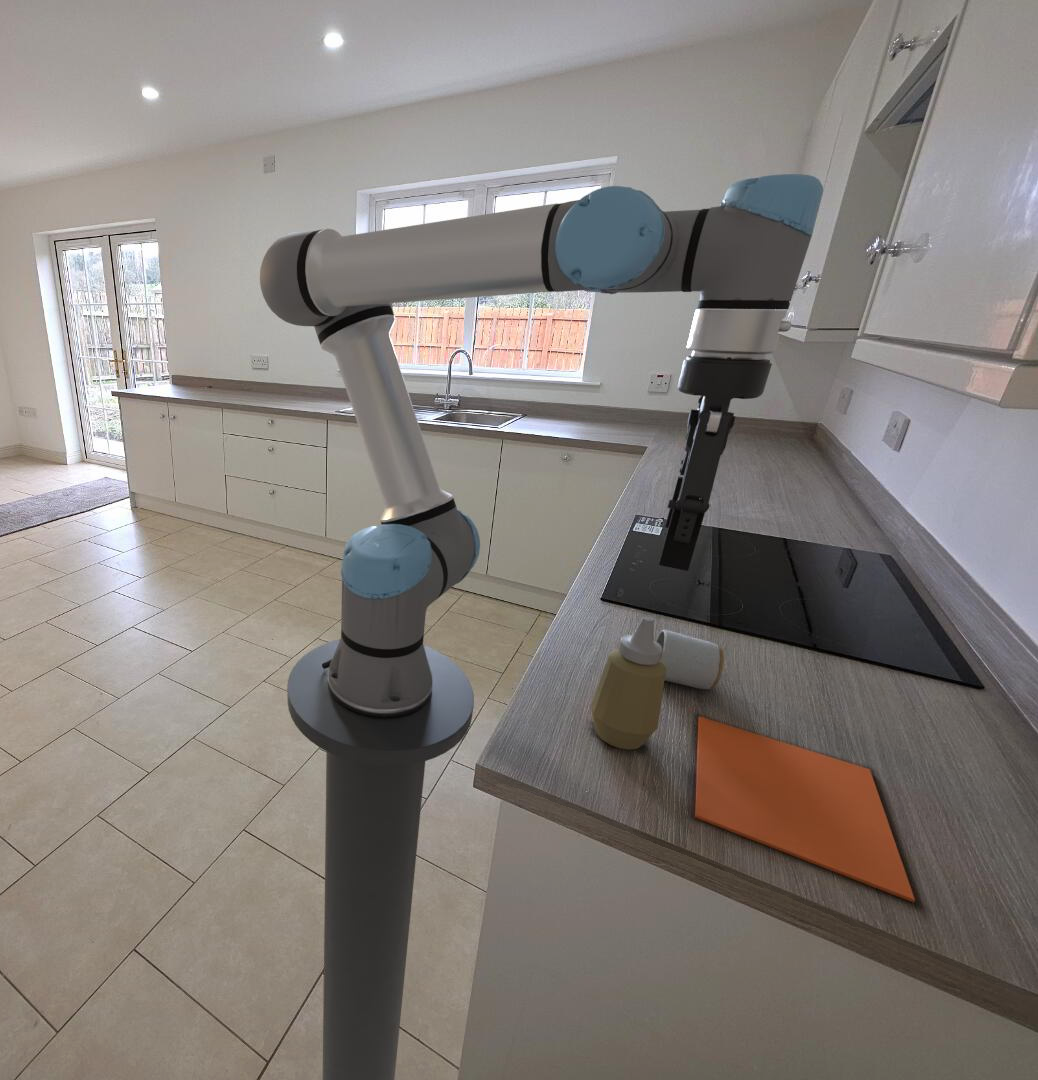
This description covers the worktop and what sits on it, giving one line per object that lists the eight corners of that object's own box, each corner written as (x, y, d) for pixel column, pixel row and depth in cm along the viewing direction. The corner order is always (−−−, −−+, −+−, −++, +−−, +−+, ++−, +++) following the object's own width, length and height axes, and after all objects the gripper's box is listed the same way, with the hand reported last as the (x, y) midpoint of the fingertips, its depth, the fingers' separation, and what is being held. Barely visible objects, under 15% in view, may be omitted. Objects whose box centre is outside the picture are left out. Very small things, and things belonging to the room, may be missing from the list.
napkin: (694, 817, 63) (695, 815, 63) (698, 718, 79) (699, 716, 79) (913, 902, 54) (915, 900, 54) (868, 771, 70) (870, 769, 70)
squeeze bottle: (660, 735, 76) (694, 618, 69) (640, 767, 70) (675, 643, 64) (598, 707, 81) (624, 596, 74) (575, 735, 76) (601, 618, 69)
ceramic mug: (716, 701, 82) (730, 656, 79) (652, 687, 85) (664, 643, 83) (704, 664, 91) (717, 623, 88) (647, 652, 94) (657, 612, 92)
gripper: (789, 366, 46) (716, 596, 54) (762, 350, 65) (711, 521, 74) (682, 361, 50) (629, 577, 58) (687, 347, 69) (647, 510, 77)
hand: (675, 546), depth 66 cm, fingers open, 13 cm apart
